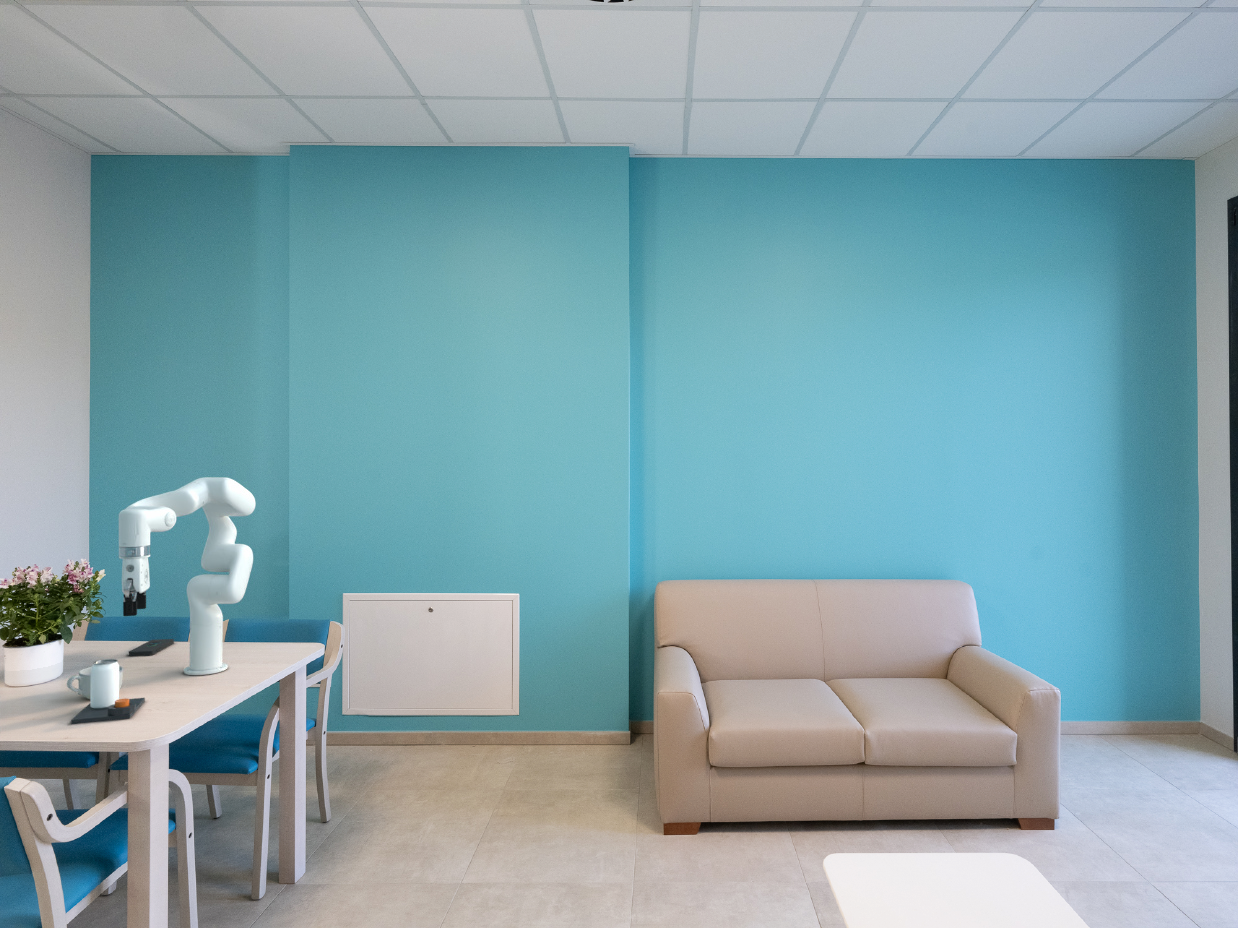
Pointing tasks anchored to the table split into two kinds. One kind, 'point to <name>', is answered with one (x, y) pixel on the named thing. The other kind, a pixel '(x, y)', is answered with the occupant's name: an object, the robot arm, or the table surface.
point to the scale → (108, 712)
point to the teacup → (87, 681)
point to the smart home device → (151, 647)
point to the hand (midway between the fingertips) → (135, 612)
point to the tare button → (121, 703)
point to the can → (104, 683)
